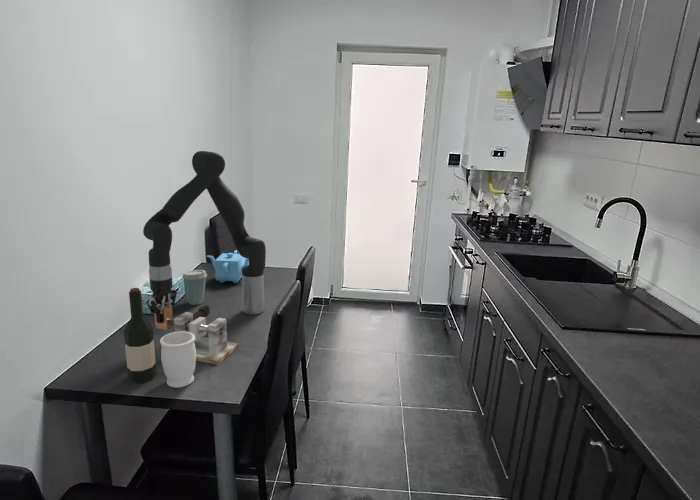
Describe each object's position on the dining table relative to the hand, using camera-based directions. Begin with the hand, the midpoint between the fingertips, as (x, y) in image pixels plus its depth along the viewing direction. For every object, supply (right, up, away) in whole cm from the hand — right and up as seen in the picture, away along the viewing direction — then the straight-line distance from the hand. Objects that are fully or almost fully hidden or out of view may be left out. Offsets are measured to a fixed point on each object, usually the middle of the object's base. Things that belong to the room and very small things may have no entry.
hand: (164, 320), depth 169 cm
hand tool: (+4, -4, +22) cm, 23 cm away
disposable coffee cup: (-2, +2, +42) cm, 43 cm away
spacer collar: (+14, -5, -3) cm, 15 cm away
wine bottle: (+1, -15, -20) cm, 25 cm away
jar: (+14, -16, -22) cm, 31 cm away
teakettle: (+5, +10, +76) cm, 77 cm away
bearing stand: (+15, -11, -2) cm, 18 cm away
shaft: (+9, -4, -2) cm, 10 cm away
